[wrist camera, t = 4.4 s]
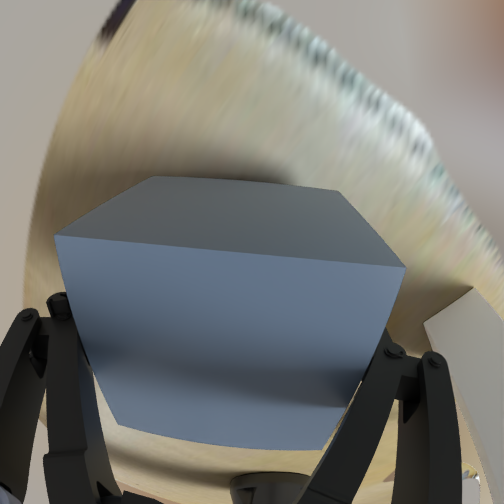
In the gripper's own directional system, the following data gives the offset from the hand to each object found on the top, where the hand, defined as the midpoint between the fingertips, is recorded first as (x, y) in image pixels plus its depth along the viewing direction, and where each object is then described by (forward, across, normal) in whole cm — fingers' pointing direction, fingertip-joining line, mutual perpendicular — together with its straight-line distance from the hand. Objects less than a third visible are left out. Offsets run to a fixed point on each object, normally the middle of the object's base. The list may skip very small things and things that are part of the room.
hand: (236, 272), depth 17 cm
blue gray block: (+1, 0, 0) cm, 1 cm away
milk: (+3, -20, +6) cm, 21 cm away
